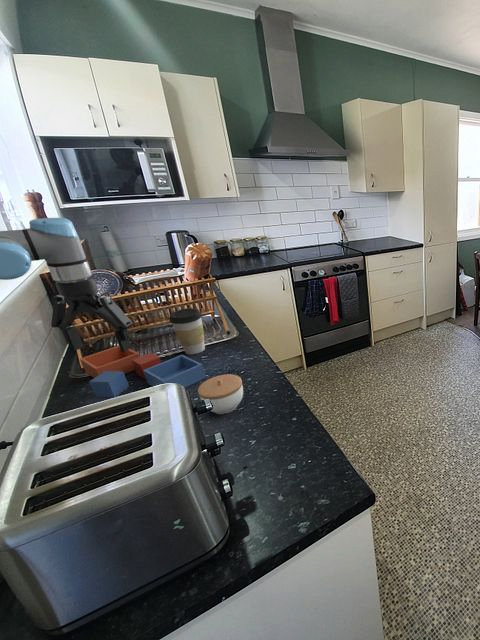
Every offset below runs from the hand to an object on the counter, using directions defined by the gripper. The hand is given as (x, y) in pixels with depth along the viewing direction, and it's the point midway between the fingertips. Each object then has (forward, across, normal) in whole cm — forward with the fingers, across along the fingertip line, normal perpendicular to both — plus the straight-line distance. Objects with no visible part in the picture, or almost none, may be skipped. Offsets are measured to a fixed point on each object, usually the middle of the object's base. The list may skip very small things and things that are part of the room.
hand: (102, 349), depth 100 cm
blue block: (+14, 0, +2) cm, 14 cm away
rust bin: (+14, +9, -10) cm, 19 cm away
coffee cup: (+14, -9, -24) cm, 29 cm away
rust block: (+14, -4, -9) cm, 17 cm away
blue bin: (+14, -15, -4) cm, 21 cm away
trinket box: (+14, -37, +8) cm, 40 cm away
